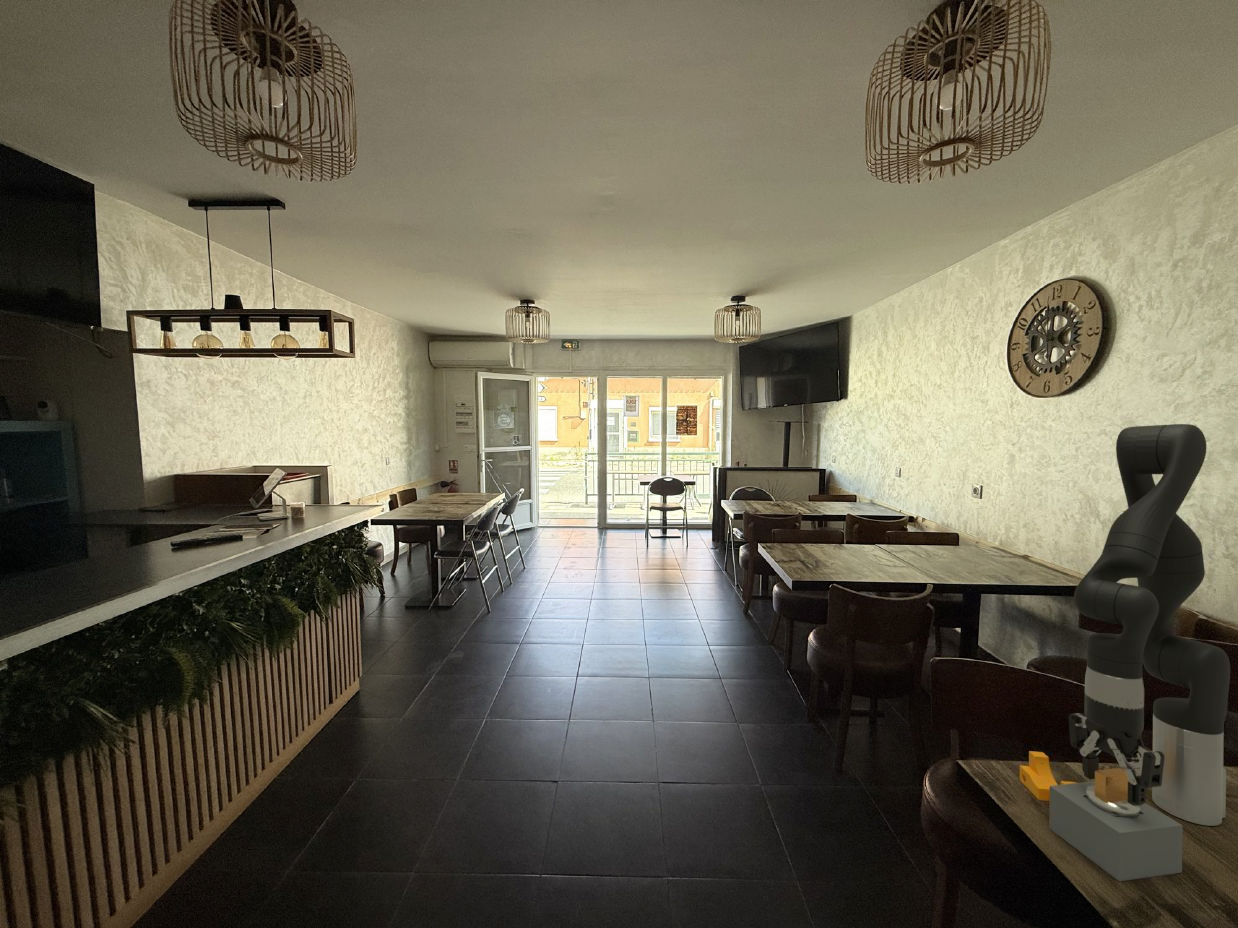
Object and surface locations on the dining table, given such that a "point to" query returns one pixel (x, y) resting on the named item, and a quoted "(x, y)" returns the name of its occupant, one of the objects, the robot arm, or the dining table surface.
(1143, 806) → the bearing housing
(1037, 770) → the pipe clamp
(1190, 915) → the dining table surface
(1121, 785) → the end cover
